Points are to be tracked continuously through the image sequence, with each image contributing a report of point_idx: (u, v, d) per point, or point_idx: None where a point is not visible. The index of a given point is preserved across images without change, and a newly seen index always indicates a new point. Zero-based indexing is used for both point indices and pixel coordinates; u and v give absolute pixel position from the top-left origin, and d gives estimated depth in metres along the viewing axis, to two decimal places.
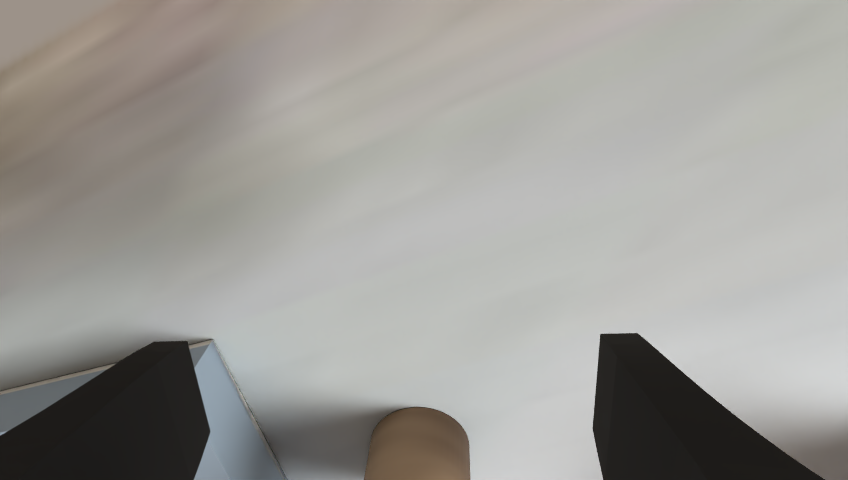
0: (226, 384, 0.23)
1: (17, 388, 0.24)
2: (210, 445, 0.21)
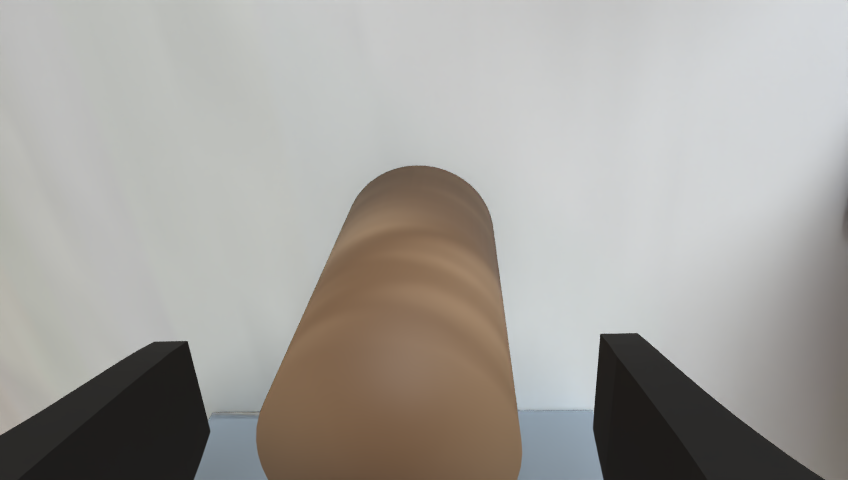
0: None
1: None
2: None
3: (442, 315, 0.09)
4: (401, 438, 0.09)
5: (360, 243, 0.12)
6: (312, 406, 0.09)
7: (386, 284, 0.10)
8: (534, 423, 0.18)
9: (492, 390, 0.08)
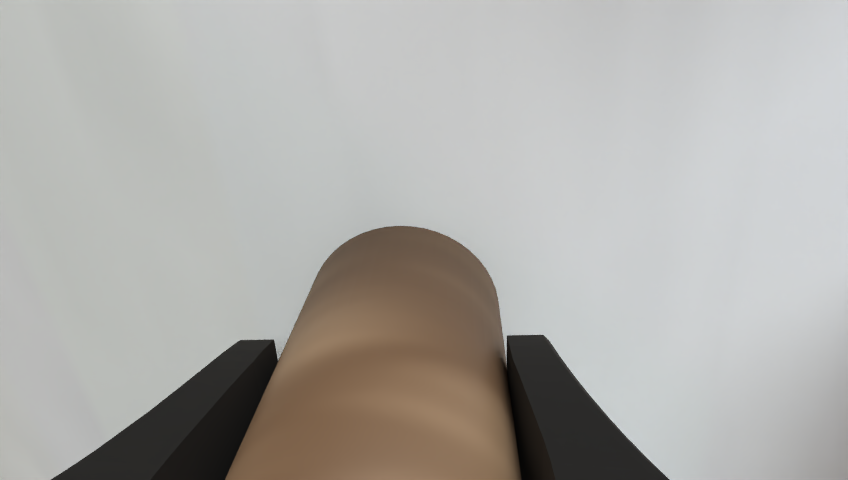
0: None
1: None
2: None
3: None
4: None
5: (312, 367, 0.08)
6: None
7: (339, 470, 0.06)
8: None
9: None
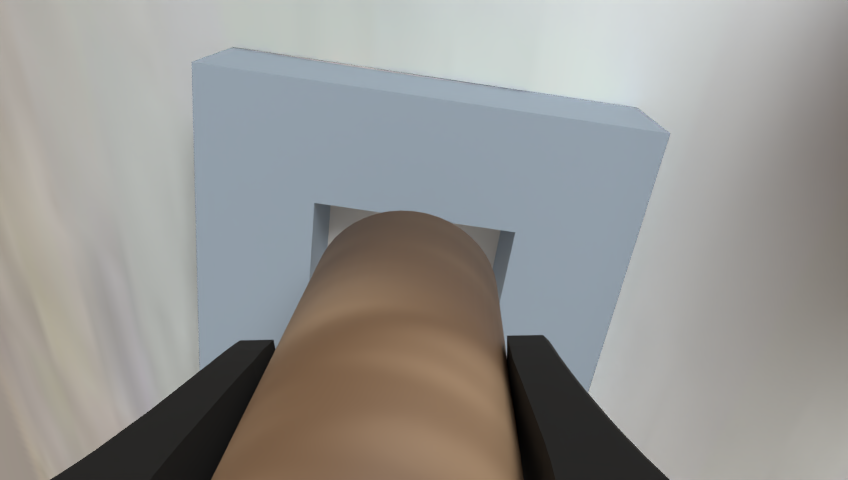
0: (284, 58, 0.17)
1: None
2: (288, 76, 0.15)
3: (429, 479, 0.06)
4: None
5: (318, 331, 0.08)
6: None
7: (346, 417, 0.06)
8: (579, 102, 0.17)
9: None
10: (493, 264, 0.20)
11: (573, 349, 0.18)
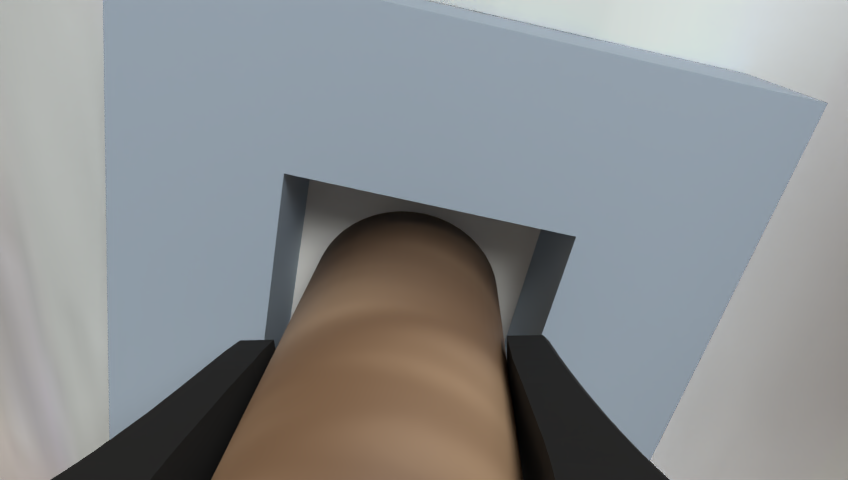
0: None
1: None
2: None
3: None
4: None
5: (318, 332, 0.08)
6: None
7: (346, 418, 0.06)
8: (673, 58, 0.12)
9: None
10: (525, 278, 0.14)
11: (637, 405, 0.13)
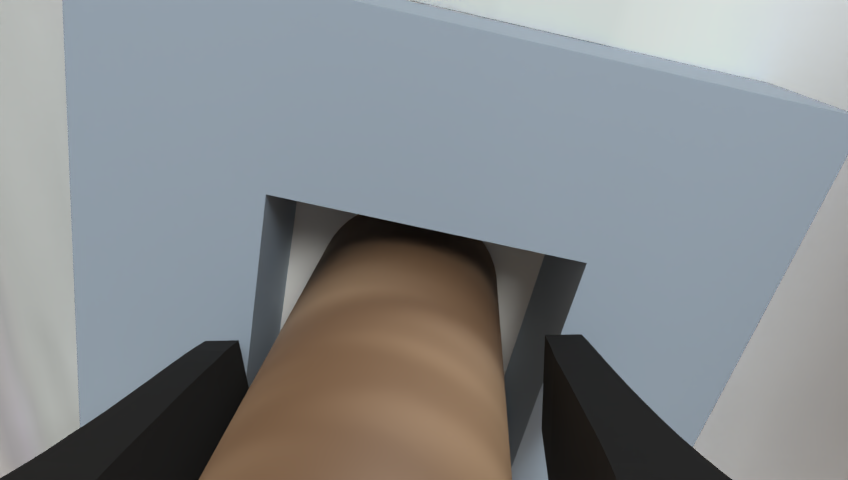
0: None
1: None
2: None
3: (414, 446, 0.06)
4: None
5: (319, 313, 0.09)
6: None
7: (342, 390, 0.07)
8: (691, 66, 0.11)
9: None
10: (529, 301, 0.13)
11: None
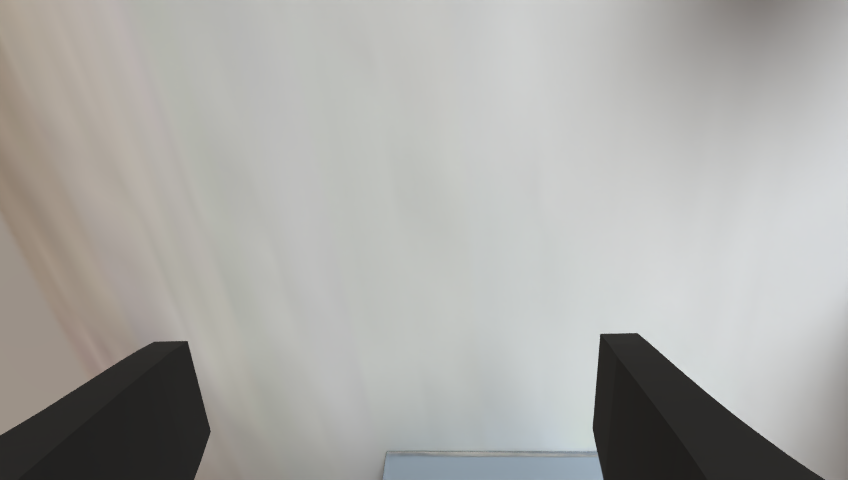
0: (426, 462, 0.24)
1: None
2: None
3: None
4: None
5: None
6: None
7: None
8: None
9: None
10: None
11: None
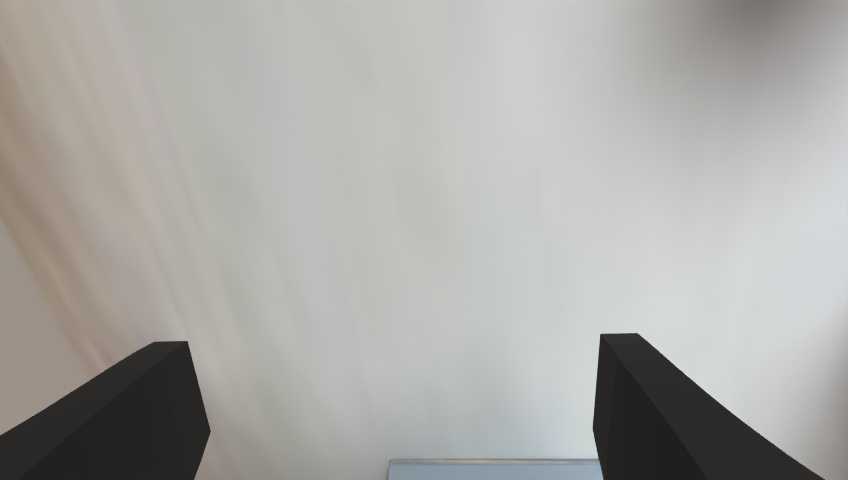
0: (429, 470, 0.24)
1: None
2: None
3: None
4: None
5: None
6: None
7: None
8: None
9: None
10: None
11: None
